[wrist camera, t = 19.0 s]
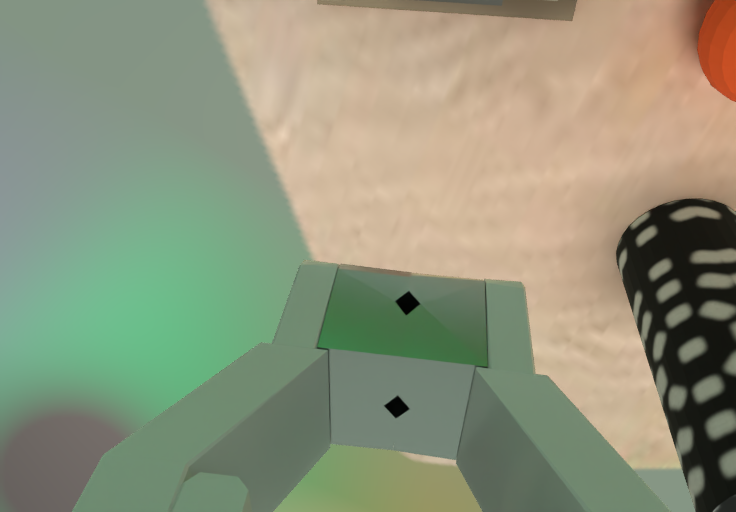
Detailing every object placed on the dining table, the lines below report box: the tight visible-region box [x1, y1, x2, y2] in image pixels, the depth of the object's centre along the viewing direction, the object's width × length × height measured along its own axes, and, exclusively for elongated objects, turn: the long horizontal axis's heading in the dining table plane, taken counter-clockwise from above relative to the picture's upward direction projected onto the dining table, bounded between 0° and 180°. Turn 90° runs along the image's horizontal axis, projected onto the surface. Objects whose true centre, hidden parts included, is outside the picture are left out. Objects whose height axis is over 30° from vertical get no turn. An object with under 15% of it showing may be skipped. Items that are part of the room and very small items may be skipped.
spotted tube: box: [616, 199, 736, 512], centre depth 34 cm, size 8×8×20 cm
